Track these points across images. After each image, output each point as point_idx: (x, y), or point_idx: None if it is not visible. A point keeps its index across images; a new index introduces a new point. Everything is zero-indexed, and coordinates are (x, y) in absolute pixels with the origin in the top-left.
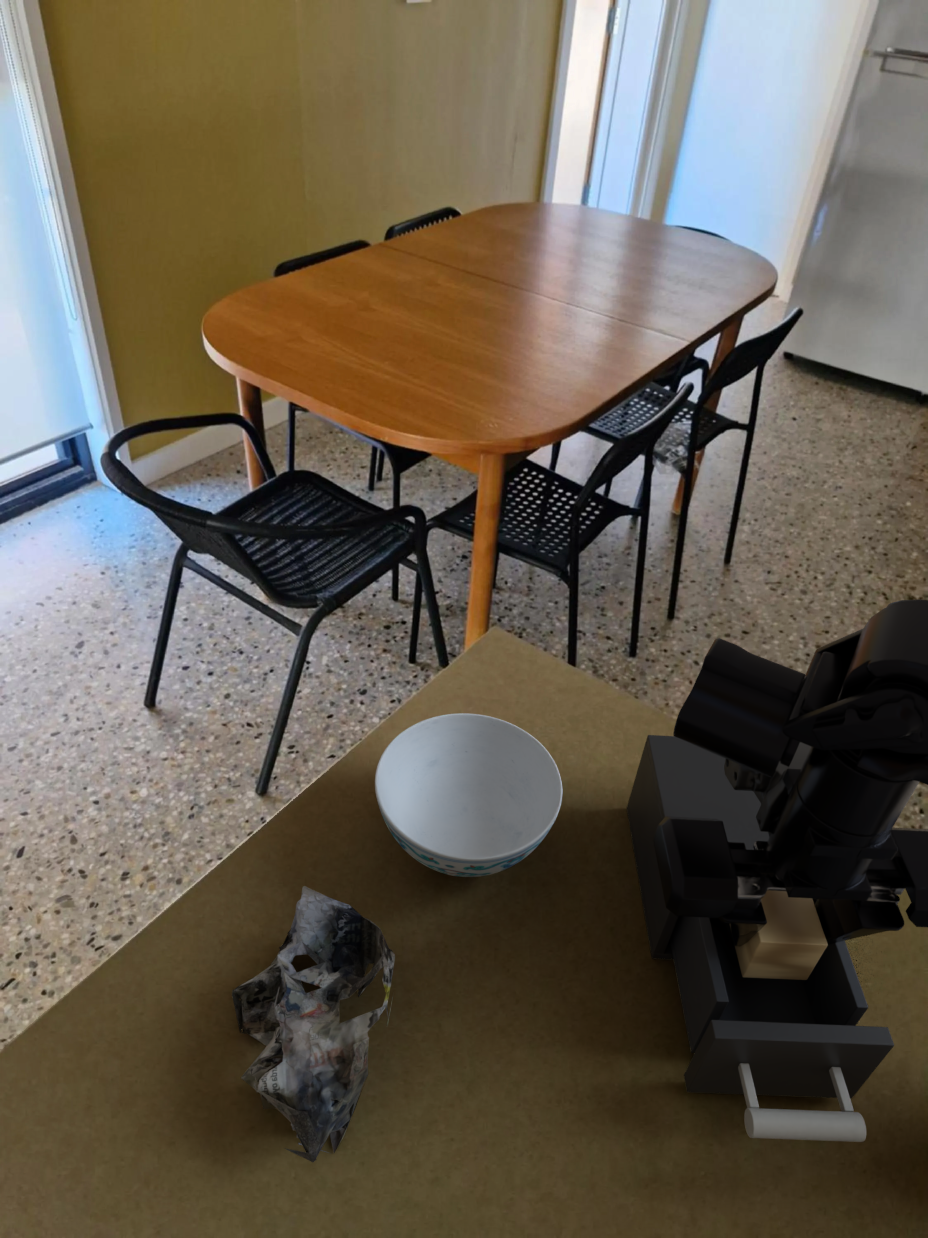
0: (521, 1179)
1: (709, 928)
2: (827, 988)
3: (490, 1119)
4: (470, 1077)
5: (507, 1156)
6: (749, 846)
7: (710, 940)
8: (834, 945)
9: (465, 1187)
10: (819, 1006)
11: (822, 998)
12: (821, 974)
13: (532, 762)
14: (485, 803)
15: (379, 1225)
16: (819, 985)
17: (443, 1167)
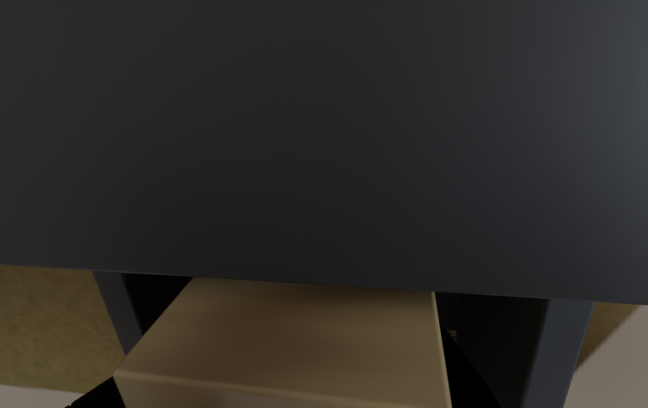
0: (104, 370)
1: (135, 328)
2: (481, 337)
3: (61, 327)
4: (27, 292)
5: (87, 354)
6: (227, 22)
7: None
8: (520, 388)
9: (62, 370)
10: (468, 302)
11: (473, 314)
12: (484, 302)
13: None
14: None
15: (14, 384)
16: (477, 295)
17: (39, 357)
